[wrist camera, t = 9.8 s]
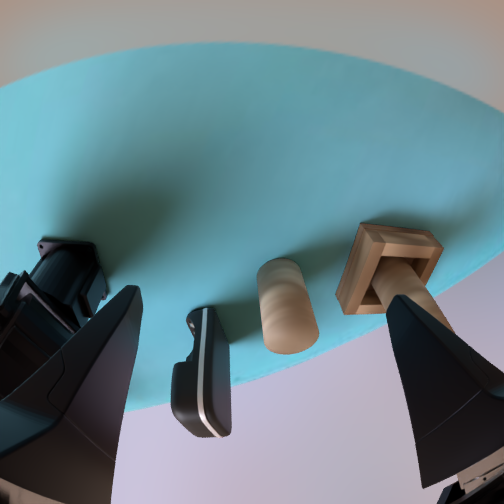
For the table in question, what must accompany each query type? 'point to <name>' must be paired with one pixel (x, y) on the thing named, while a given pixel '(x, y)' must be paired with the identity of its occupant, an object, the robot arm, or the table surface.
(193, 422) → the battery charger
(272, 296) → the short pin
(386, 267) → the long pin
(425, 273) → the light brown square frame
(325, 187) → the table surface
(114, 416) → the robot arm
